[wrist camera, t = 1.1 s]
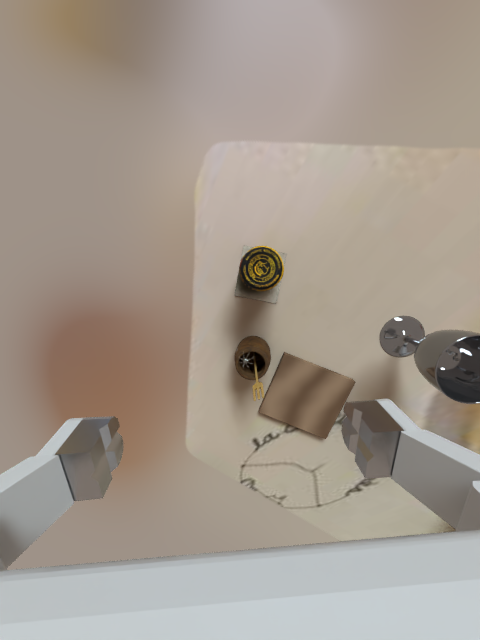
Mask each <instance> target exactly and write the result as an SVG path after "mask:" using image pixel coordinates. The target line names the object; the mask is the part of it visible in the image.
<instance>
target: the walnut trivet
mask: <svg viewBox="0 0 480 640" xmlns="http://www.w3.org/2000/svg"><path fill="white" fill-rule="evenodd" d="M354 384H355V381H354V380H353V379H351V378H348V377H346V376H343V375H341V374H338V373H336V372H333V371H331V370H328V369H326V368H323V367H321V366H318V365H316V364H313V363H311V362H308V361H305V360H303V359H300V358H298V357H295V356H293V355H290V354H288V353H285V352H284V354H283V356H282V358H281V361H280V363H279V365H278V367H277V370H276V372H275V374H274V376H273V379H272V381H271V383H270V385H269V388H268V390H267V392H266V395H265V397H264V399H263V401H262V404H261V406H260V408H259V412H260V413H262V414H265V415H267V416H270V417H272V418H275V419H277V420H280V421H282V422H285V423H287V424H289V425H292V426H294V427H297V428H299V429H302V430H304V431H307V432H309V433H312V434H314V435H317V436H319V437H322V438H324V439H326V438H327V436H328V434H329V432H330V430H331V428H332V426H333V424H334V422H335V420H336V419H337V417H338V415H339V413H340V411H341V409H342V407H343V405H344V403H345V401H346V399H347V397H348V396H349V394H350V392H351V390H352V388H353V386H354Z"/></svg>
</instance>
